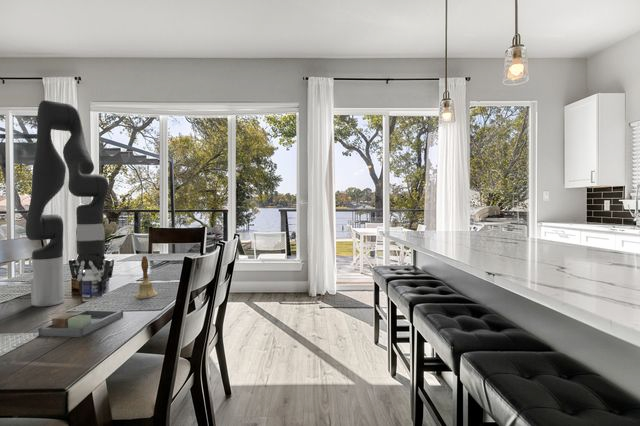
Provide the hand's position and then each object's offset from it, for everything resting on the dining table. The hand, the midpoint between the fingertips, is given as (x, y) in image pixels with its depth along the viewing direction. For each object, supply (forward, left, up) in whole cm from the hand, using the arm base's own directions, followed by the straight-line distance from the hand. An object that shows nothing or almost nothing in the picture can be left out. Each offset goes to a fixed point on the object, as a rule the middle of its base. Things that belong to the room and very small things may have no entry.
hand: (92, 292), depth 116 cm
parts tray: (0, -4, -10) cm, 10 cm away
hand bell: (-3, +33, -10) cm, 35 cm away
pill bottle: (0, 0, -3) cm, 3 cm away
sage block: (+2, -8, -9) cm, 13 cm away
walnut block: (-3, -8, -9) cm, 13 cm away
